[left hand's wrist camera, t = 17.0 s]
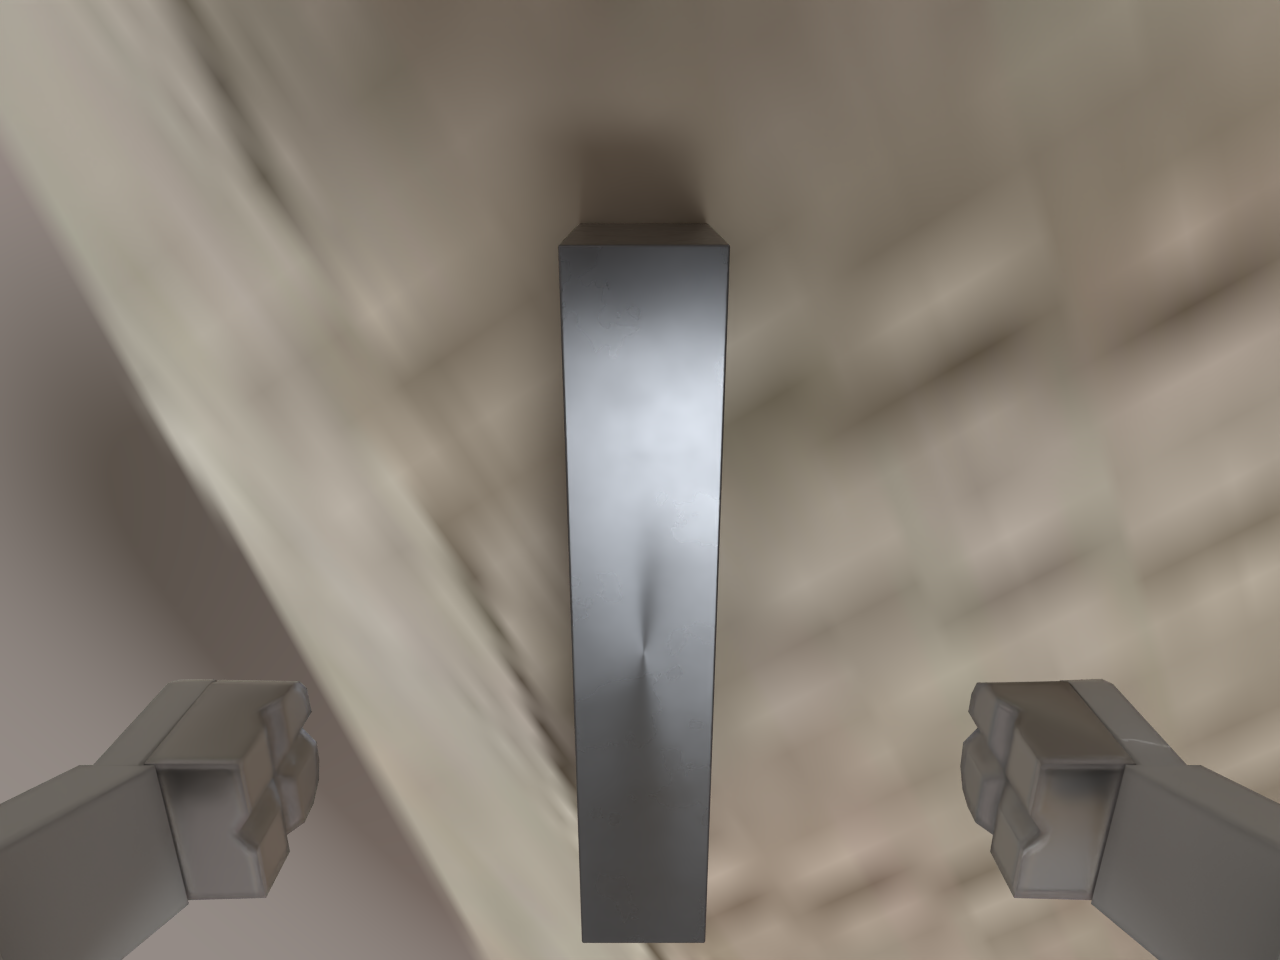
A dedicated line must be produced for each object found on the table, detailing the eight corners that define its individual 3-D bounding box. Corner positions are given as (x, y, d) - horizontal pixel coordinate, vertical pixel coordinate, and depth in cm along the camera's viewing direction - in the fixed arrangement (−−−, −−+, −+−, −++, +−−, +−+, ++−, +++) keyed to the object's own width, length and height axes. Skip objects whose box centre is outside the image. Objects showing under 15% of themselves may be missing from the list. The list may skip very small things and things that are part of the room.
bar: (578, 223, 31) (557, 244, 23) (708, 223, 31) (730, 244, 23) (592, 795, 40) (581, 943, 32) (693, 795, 40) (705, 943, 32)
